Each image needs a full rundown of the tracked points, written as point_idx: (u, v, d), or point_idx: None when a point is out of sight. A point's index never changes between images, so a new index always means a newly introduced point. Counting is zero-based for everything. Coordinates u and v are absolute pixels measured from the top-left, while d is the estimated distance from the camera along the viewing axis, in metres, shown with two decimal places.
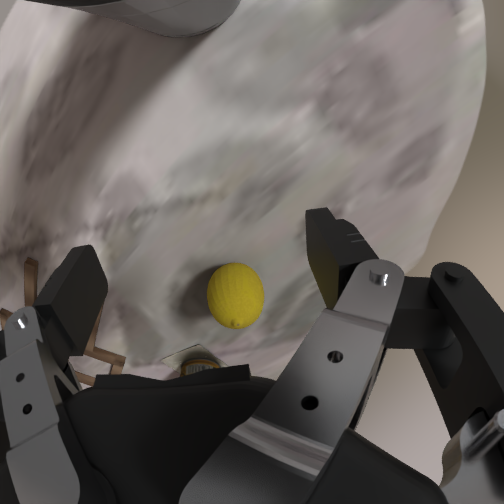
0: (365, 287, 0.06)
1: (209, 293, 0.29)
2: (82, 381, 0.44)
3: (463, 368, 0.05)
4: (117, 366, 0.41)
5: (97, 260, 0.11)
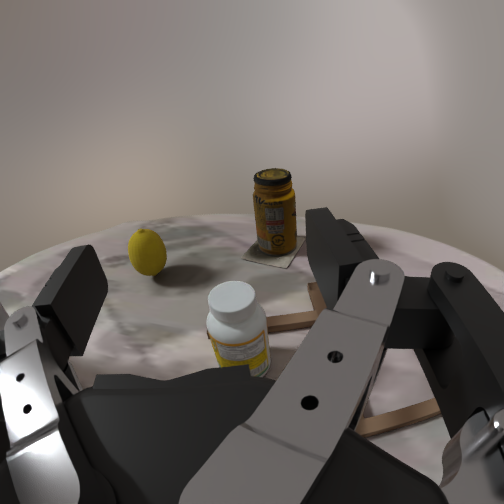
0: (365, 287, 0.06)
1: (142, 258, 0.41)
2: None
3: (463, 368, 0.05)
4: None
5: (97, 260, 0.11)
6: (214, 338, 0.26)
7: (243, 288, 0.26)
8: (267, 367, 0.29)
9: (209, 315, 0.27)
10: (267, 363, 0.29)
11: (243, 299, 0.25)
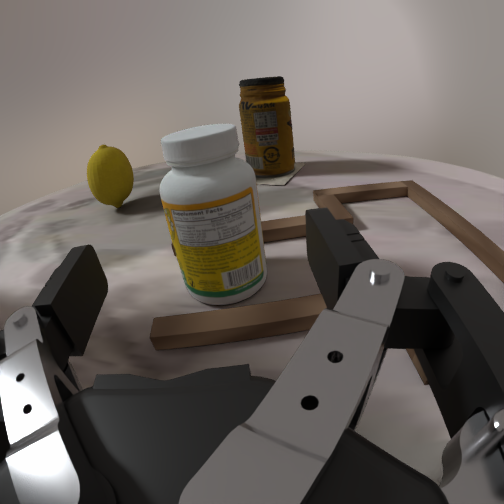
0: (365, 287, 0.06)
1: (101, 176, 0.30)
2: (438, 202, 0.24)
3: (463, 368, 0.05)
4: (332, 191, 0.28)
5: (97, 260, 0.11)
6: (168, 201, 0.15)
7: (217, 125, 0.16)
8: (261, 275, 0.19)
9: (165, 176, 0.17)
10: (261, 267, 0.18)
11: (216, 129, 0.15)
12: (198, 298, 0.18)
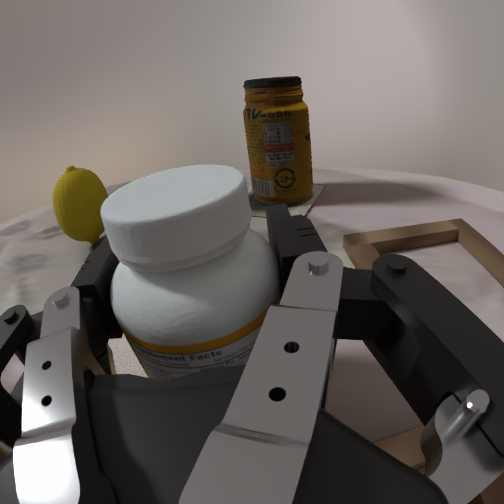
0: (306, 279, 0.07)
1: (68, 209, 0.23)
2: (499, 256, 0.17)
3: (422, 357, 0.05)
4: (369, 237, 0.21)
5: None
6: (122, 326, 0.08)
7: (209, 172, 0.09)
8: None
9: (119, 263, 0.09)
10: None
11: (205, 189, 0.07)
12: None
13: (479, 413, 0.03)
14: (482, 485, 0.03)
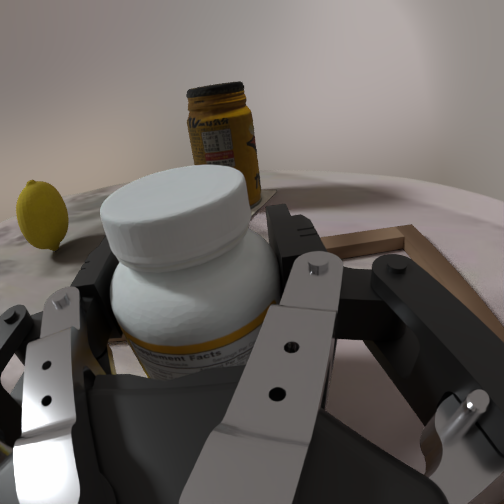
0: (306, 279, 0.07)
1: (27, 220, 0.23)
2: (446, 268, 0.17)
3: (422, 357, 0.05)
4: None
5: None
6: (121, 326, 0.08)
7: (209, 172, 0.09)
8: None
9: (119, 264, 0.09)
10: None
11: (204, 189, 0.07)
12: None
13: (479, 413, 0.03)
14: (482, 485, 0.03)
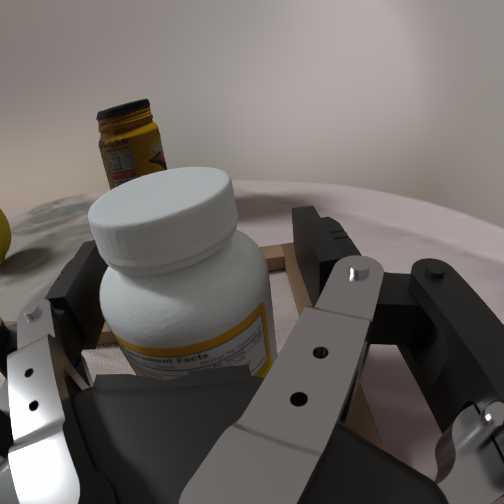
0: (345, 283, 0.07)
1: None
2: None
3: (450, 363, 0.05)
4: None
5: None
6: (111, 328, 0.08)
7: (197, 174, 0.09)
8: None
9: (109, 266, 0.09)
10: None
11: (190, 192, 0.07)
12: None
13: (495, 425, 0.03)
14: (486, 500, 0.02)
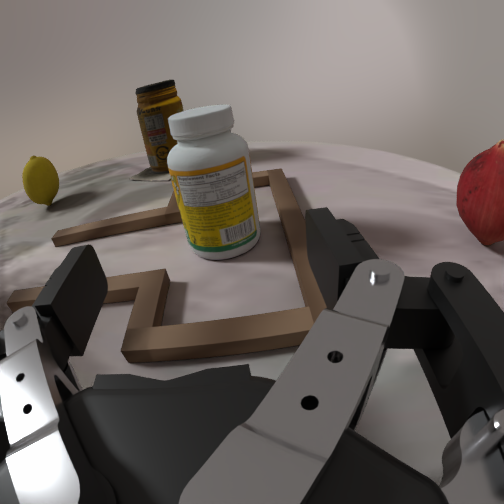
0: (365, 287, 0.06)
1: (30, 182, 0.33)
2: (285, 191, 0.26)
3: (463, 368, 0.05)
4: None
5: (97, 260, 0.11)
6: (174, 169, 0.18)
7: (216, 106, 0.18)
8: (255, 234, 0.21)
9: (171, 149, 0.19)
10: (254, 226, 0.21)
11: (214, 109, 0.17)
12: (200, 254, 0.21)
13: (503, 433, 0.03)
14: None
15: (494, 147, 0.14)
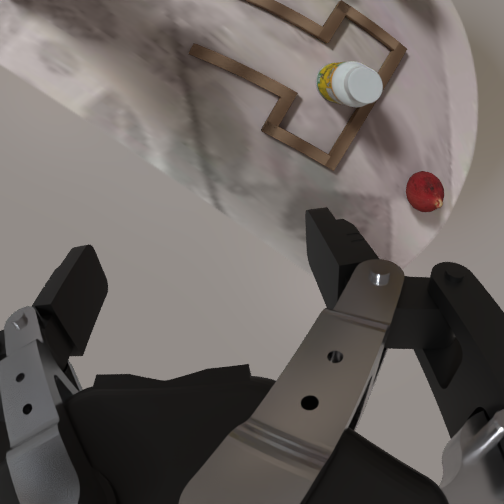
0: (365, 287, 0.06)
1: None
2: (386, 77, 0.33)
3: (463, 368, 0.05)
4: (349, 11, 0.29)
5: (97, 260, 0.11)
6: (332, 87, 0.29)
7: (377, 85, 0.27)
8: None
9: (341, 71, 0.28)
10: None
11: (370, 95, 0.27)
12: (317, 89, 0.35)
13: (503, 433, 0.03)
14: None
15: (436, 198, 0.36)
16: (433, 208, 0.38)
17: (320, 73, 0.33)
